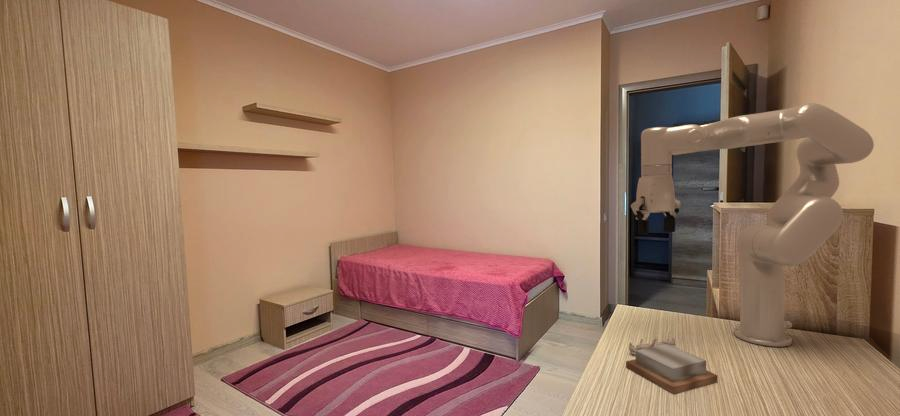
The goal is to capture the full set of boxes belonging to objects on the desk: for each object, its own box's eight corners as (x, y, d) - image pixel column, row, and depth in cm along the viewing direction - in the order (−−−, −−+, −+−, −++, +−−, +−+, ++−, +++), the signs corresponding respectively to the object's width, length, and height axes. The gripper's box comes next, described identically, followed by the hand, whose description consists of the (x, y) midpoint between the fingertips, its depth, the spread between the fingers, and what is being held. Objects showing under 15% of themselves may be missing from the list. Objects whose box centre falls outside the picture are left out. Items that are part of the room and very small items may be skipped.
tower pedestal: (666, 357, 96) (666, 340, 96) (717, 381, 84) (717, 362, 84) (626, 367, 92) (625, 349, 92) (673, 394, 80) (673, 373, 79)
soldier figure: (681, 336, 97) (635, 331, 97) (685, 356, 95) (638, 352, 95) (664, 339, 104) (621, 335, 104) (667, 358, 102) (623, 354, 102)
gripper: (667, 172, 113) (667, 229, 114) (621, 173, 107) (622, 233, 108) (691, 171, 106) (691, 232, 107) (643, 172, 100) (643, 236, 101)
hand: (656, 232), depth 107 cm, fingers open, 9 cm apart
